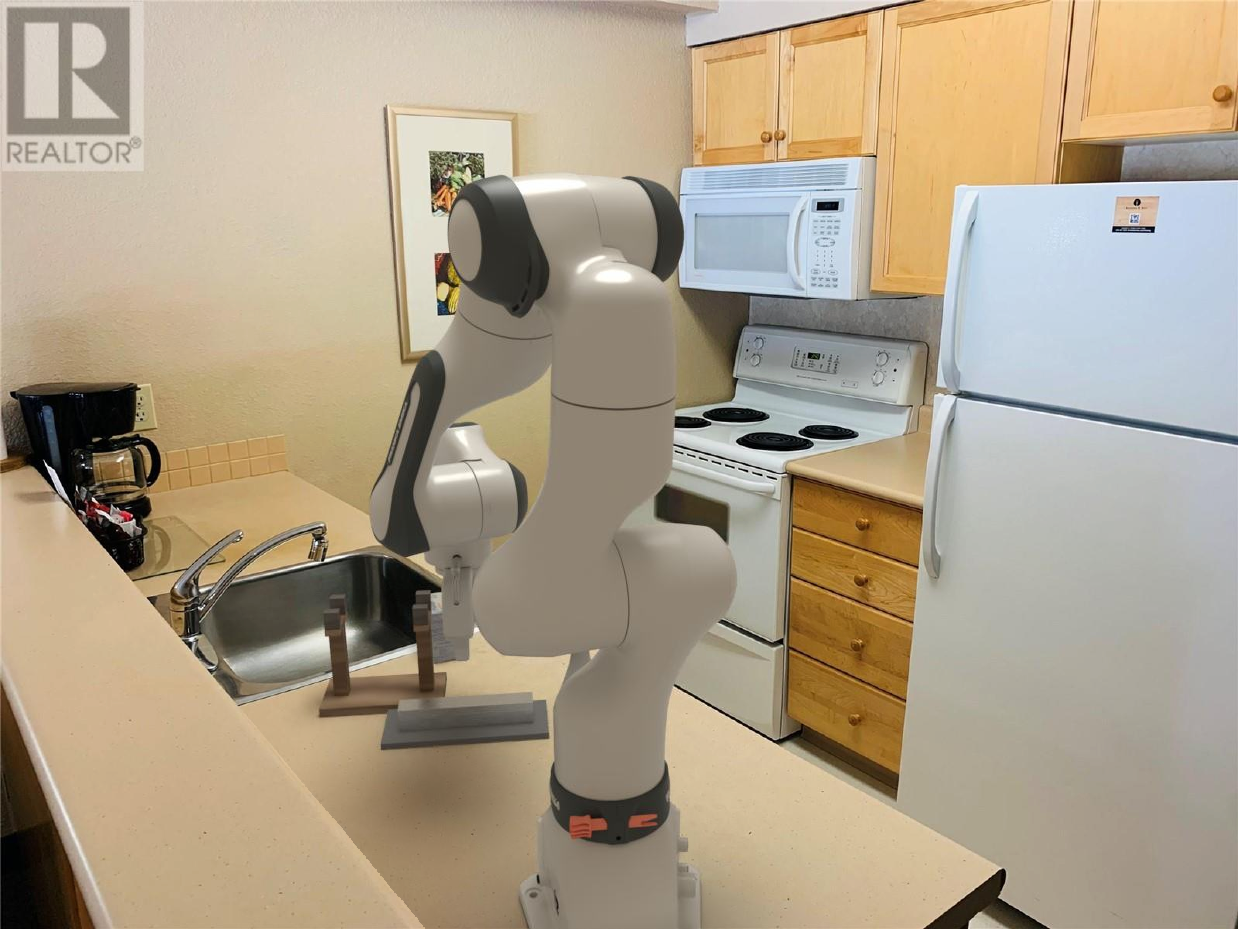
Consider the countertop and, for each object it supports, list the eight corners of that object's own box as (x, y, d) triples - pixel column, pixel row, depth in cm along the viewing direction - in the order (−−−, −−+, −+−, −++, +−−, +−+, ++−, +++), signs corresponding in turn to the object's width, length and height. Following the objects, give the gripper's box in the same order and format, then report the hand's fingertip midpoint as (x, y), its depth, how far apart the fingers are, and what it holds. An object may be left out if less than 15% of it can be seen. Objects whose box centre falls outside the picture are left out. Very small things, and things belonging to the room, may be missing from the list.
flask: (600, 718, 133) (599, 652, 130) (549, 713, 134) (547, 647, 131) (611, 693, 139) (610, 630, 137) (563, 688, 141) (562, 625, 138)
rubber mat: (549, 738, 128) (548, 732, 127) (380, 749, 125) (380, 744, 125) (546, 704, 136) (546, 699, 136) (388, 714, 134) (388, 709, 134)
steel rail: (533, 722, 130) (533, 702, 129) (398, 731, 128) (397, 711, 127) (532, 711, 133) (532, 691, 132) (401, 719, 131) (399, 700, 130)
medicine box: (460, 660, 150) (457, 608, 148) (431, 665, 148) (428, 613, 146) (449, 639, 157) (446, 590, 155) (422, 644, 155) (419, 594, 153)
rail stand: (443, 709, 135) (437, 611, 131) (319, 717, 133) (309, 617, 129) (446, 679, 144) (441, 586, 140) (330, 686, 142) (322, 592, 138)
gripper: (481, 570, 114) (486, 677, 117) (484, 521, 134) (489, 613, 137) (427, 573, 113) (434, 680, 116) (438, 523, 133) (444, 616, 136)
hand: (464, 643), depth 127 cm, fingers open, 8 cm apart
